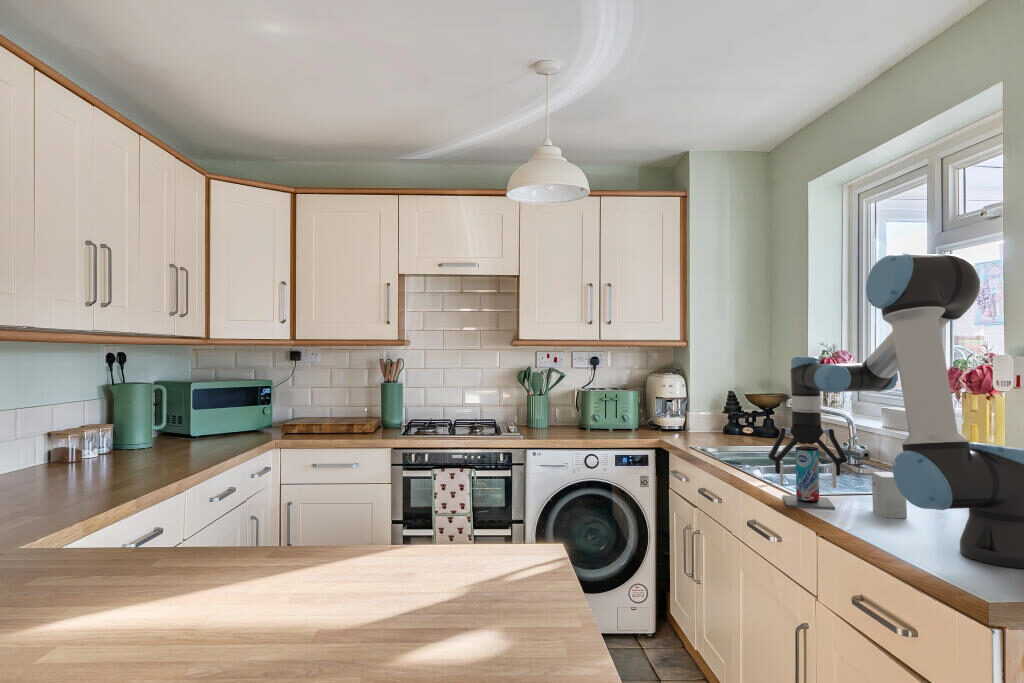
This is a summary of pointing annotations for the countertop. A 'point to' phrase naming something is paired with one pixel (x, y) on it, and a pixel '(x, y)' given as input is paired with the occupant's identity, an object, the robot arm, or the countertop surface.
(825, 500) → the coaster
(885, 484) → the small box
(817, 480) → the beverage can
